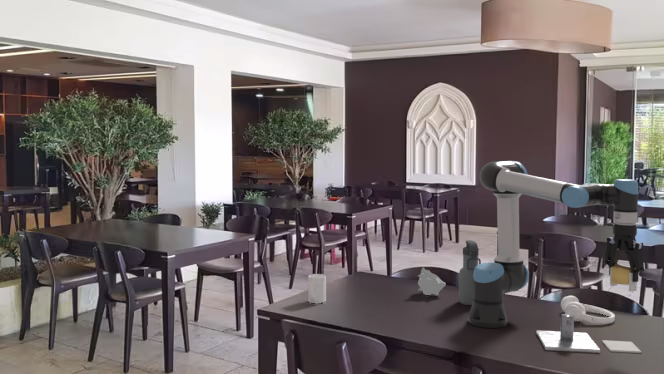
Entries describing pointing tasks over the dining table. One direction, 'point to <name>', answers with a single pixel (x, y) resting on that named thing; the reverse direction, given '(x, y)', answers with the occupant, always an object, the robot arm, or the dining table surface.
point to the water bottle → (468, 272)
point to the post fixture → (567, 338)
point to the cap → (620, 274)
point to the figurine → (430, 283)
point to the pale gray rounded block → (317, 288)
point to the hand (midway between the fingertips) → (622, 288)
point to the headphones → (578, 311)
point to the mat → (621, 346)
